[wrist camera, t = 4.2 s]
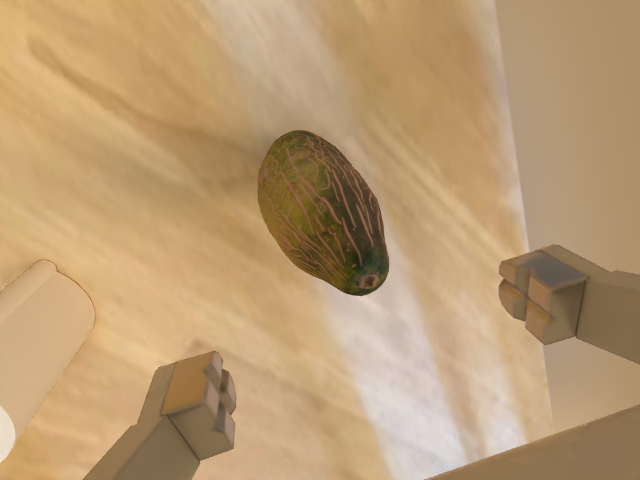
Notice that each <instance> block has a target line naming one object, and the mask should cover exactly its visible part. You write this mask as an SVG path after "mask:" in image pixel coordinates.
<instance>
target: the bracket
mask: <svg viewBox="0 0 640 480" xmlns="http://www.w3.org/2000/svg"><path fill="white" fill-rule="evenodd" d="M56 271H57V268H56V266H55V265H54V264H53V263H52V262H50V261H47V260H40V261H38V262H37V263H35V264H34V265H33V266H32V267H30V268H29V269H28V270H27V271H26V272H24V273H23V274H22V275H21V276H19V277H18V278H17V279H16V280H14V281H13V282H12V283H11V284H9V285H8V286H7V287H6V288H4V289H3V290H2V291H1V292H0V462H1V461H2V460H3V459H5V457H6V456H7V455H8V454H9V453H10V451H11V450H12V448H13V447H14V445H15V444H16V442H17V441H18V439H19V438H20V436H21V435H22V433H23V432H24V430H25V429H26V427H27V426H28V424H29V423H30V421H31V420H32V418H33V417H34V415H35V414H36V413H37V411H38V410H39V408H40V407H41V405H42V404H43V402H44V401H45V399H46V398H47V396H48V395H49V393H50V392H51V390H52V389H53V387H54V386H55V384H56V383H57V381H58V380H59V378H60V377H61V375H62V374H63V372H64V371H65V369H66V368H67V366H68V365H69V363H70V362H71V361H72V359H73V358H74V356H75V355H76V353H77V352H78V350H79V349H80V347H81V346H82V344H83V343H84V341H85V340H86V338H87V337H88V335H89V334H90V332H91V331H92V329H93V326H94V322H95V311H94V307H93V304H92V302H91V300H90V298H89V297H88V295H87V294H86V293H85V291H84V290H83V289H82V288H81V287H80V286H79V285H78V284H76V283H75V282H74V281H73V280H71V279H70V278H68V277H66V276H65V275H63V274H61V273H59V272H56Z"/></svg>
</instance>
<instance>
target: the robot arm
mask: <svg viewBox="0 0 640 480" xmlns="http://www.w3.org/2000/svg"><path fill="white" fill-rule="evenodd" d="M499 274H500V275H501V276H502V277H503V278H504V279H503V281H502V282H501V284H500V285H499V298H500V300H501V303H502V305H503V307H504V308H505V309H506V311H507V312H508V313H509V314H510V315H511V316H512V317H513V318H516V319H519V320H522V321H525V327H526V329H527V330H528V331H529V332H530V333H531V334H532V335H534V336H535V337H536V338H537V339H538V340H539V341H540V342H542V343H543V344H544V345H548V344H552V343H555V342H558V341H562V340H565V339H568V338H571V337H575V336H576V338H577V339H579V340H582V341H584V342H587V343H589V344H592V345H594V346H597V347H599V348H601V349H604V350H606V351H609V352H611V353H614V354H616V355H618V356H621V357H623V358H626V359H628V360H631V361H633V362H635V363H638V364H640V275H639V274H633V273H628V272H622V271H613V272H609V271H607V270H605V269H603V268H601V267H600V266H598V265H596V264H594V263H592V262H590V261H588V260H586V259H584V258H583V257H581V256H579V255H577V254H575V253H573V252H571V251H569V250H567V249H565V248H563V247H561V246H559V245H549V246H546V247H543V248H540V249H537V250H535V251H532V252H529V253H526V254H523V255H520V256H517V257H514V258H510V259H507V260H504V261H502V262H501V264H500V266H499ZM222 365H223V360H222V358H221V356H220V354H219V353H218V352H217V351H212V352H208V353H205V354H201V355H198V356H195V357H191V358H188V359H184V360H181V361H178V362H175V363H171V364H168V365H164V366H161V367H159V368H158V369H157V370H156V371H155V373H154V376H153V379H152V382H151V385H150V388H149V390H148V393H147V396H146V399H145V402H144V405H143V408H142V410H141V413H140V416H139V419H138V422H137V424H136V425H133V426H130V427H129V429H128V430H127V431H126V432H125V433H124V434H123V435H122V436H121V437H120V439H119V440H118V441H117V442H116V443H115V444H114V445H113V446H112V447H111V449H110V450H109V451H108V452H107V453H106V454H105V455H104V456H103V458H102V459H101V460H100V461H99V462H98V463H97V464H96V465H95V466H94V468H93V469H92V470H91V471H90V472H89V473H88V474H87V475H86V476H85V478H84V479H83V480H191V479H192V478H193V476H194V474H195V472H196V470H197V468H198V466H199V465H200V462H199V461H201V460H204V459H207V458H209V457H212V456H215V455H218V454H220V453H223V452H226V451H229V450H231V449H234V434H235V422H234V420H233V419H232V417H231V414H232V413H233V411H234V410H235V408H236V392H235V385H234V382H233V379H232V377H231V375H230V373H229V372H228V371H226V370H224V369H222ZM425 480H640V404H639V405H637V406H634V407H631V408H628V409H625V410H622V411H620V412H616V413H614V414H611V415H608V416H605V417H602V418H599V419H596V420H594V421H591V422H588V423H585V424H583V425H579V426H576V427H574V428H571V429H568V430H565V431H562V432H560V433H557V434H554V435H551V436H548V437H545V438H542V439H539V440H536V441H534V442H531V443H528V444H525V445H522V446H519V447H516V448H513V449H511V450H508V451H505V452H502V453H499V454H496V455H493V456H491V457H488V458H485V459H482V460H479V461H476V462H473V463H471V464H468V465H465V466H462V467H459V468H456V469H454V470H451V471H448V472H445V473H442V474H439V475H436V476H434V477H431V478H428V479H425Z"/></svg>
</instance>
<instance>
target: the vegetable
mask: <svg viewBox="0 0 640 480" xmlns="http://www.w3.org/2000/svg"><path fill="white" fill-rule="evenodd" d="M258 203H259V206H260V211H261V214H262V216H263V219H264V221H265V223H266V225H267V227H268V229H269V231H270V233H271V234H272V236H273V237H274V238H275V240H276V241H277V243H278V245H279V246H280V248H281V249H282V251H283V252H284V253H285V254H286V256H287V257H288V258H289V259H290V260H291V261H292V262H293V263H294V264H295V265H296V266H297V267H298V268H300V269H301V270H303V271H305V272H306V273H308V274H310V275H312V276H314V277H317V278H319V279H322V280H324V281H326V282H327V283H329V284H331V285H332V286H334V287H336V288H337V289H339V290H340V291H342V292H344V293H346V294H350V295H355V296H363V295H367V294H370V293H372V292H373V291H375V290H377V289H378V288H379V287H380V286H381V285H382V284H383V283H384V281H385V280H386V277H387V275H388V272H389V257H388V252H387V247H386V243H385V237H384V226H383V220H382V216H381V211H380V208H379V204H378V201H377V199H376V197H375V196H374V194H373V193H372V191H371V190H370V188H369V187H368V185H367V183H366V182H365V181H364V179H363V178H362V177H361V175H360V174H359V173H358V172H357V171H356V170H355V169H354V168H353V167H352V165H351V163H350V162H349V161H348V160H347V159H346V158H345V156H344V155H343V154H342V153H341V152H340V151H339V150H338V149H337V148H336V147H335V146H333V145H332V144H331V143H329V142H327V141H326V140H324V139H322V138H321V137H319V136H317V135H315V134H313V133H311V132H308V131H301V130H298V131H292V132H289V133H286V134H284V135H283V136H281V137H280V138H279V139H277V140H276V141H275V142H274V144H273V145H272V146H271V148H270V149H269V151H268V153H267V155H266V157H265V159H264V161H263V163H262V165H261V168H260V171H259V176H258Z"/></svg>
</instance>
